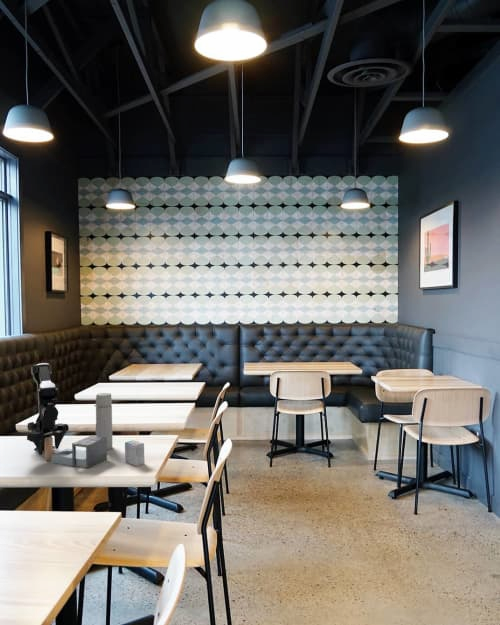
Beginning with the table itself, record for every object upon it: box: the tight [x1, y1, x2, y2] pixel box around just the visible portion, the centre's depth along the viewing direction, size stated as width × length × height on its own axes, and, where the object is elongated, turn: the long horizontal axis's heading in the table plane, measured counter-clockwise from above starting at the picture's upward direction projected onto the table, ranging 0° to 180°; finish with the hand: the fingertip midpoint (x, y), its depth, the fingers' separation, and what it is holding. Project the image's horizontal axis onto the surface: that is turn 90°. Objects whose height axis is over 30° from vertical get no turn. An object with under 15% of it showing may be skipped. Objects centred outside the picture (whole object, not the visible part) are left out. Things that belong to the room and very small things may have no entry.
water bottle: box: [94, 392, 113, 451], centre depth 227 cm, size 9×8×25 cm
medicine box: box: [124, 439, 145, 467], centre depth 206 cm, size 8×4×9 cm, turn 47°
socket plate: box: [50, 448, 86, 468], centre depth 209 cm, size 10×19×3 cm, turn 69°
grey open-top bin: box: [71, 435, 108, 469], centre depth 207 cm, size 12×8×10 cm, turn 159°
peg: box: [44, 436, 54, 461], centre depth 212 cm, size 3×3×9 cm
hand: (48, 451), depth 212 cm, fingers open, 9 cm apart
